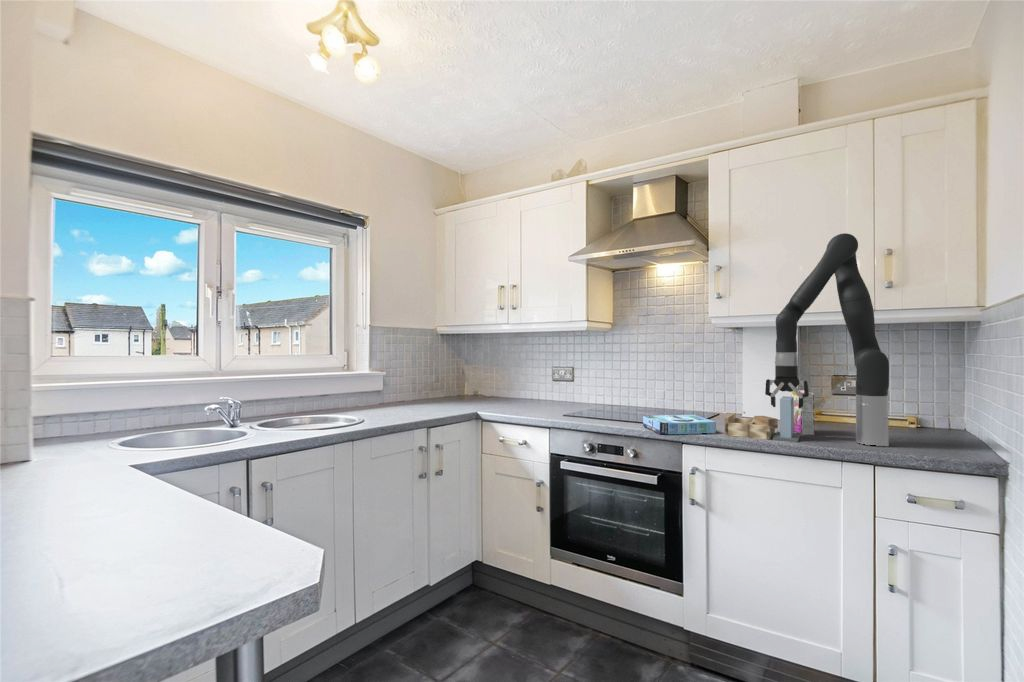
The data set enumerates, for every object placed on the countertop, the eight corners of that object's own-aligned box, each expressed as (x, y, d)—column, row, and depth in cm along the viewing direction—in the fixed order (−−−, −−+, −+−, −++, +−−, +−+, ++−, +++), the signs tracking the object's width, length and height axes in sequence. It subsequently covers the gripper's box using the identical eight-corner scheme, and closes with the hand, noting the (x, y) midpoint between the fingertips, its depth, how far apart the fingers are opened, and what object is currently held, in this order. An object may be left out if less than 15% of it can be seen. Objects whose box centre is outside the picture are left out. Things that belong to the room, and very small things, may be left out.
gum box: (694, 425, 217) (642, 427, 216) (694, 413, 217) (642, 415, 215) (716, 433, 198) (659, 435, 196) (715, 420, 198) (659, 422, 196)
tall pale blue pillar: (794, 433, 192) (793, 396, 192) (791, 438, 183) (790, 399, 183) (783, 432, 194) (783, 396, 194) (780, 437, 185) (779, 399, 185)
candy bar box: (790, 430, 205) (790, 390, 205) (804, 430, 204) (804, 390, 204) (800, 435, 194) (800, 392, 194) (815, 435, 193) (814, 393, 193)
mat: (800, 436, 192) (800, 433, 192) (797, 442, 181) (797, 439, 181) (777, 433, 197) (777, 431, 197) (772, 439, 185) (772, 437, 185)
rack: (774, 433, 198) (774, 415, 198) (769, 439, 185) (769, 420, 185) (732, 429, 206) (732, 412, 206) (724, 435, 194) (724, 417, 194)
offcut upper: (762, 424, 197) (762, 415, 197) (777, 428, 189) (777, 418, 189) (753, 424, 196) (753, 415, 196) (768, 428, 188) (768, 419, 188)
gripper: (809, 364, 188) (809, 407, 188) (766, 363, 196) (767, 405, 196) (807, 365, 182) (808, 410, 182) (764, 364, 190) (764, 407, 190)
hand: (786, 407), depth 189 cm, fingers open, 8 cm apart
